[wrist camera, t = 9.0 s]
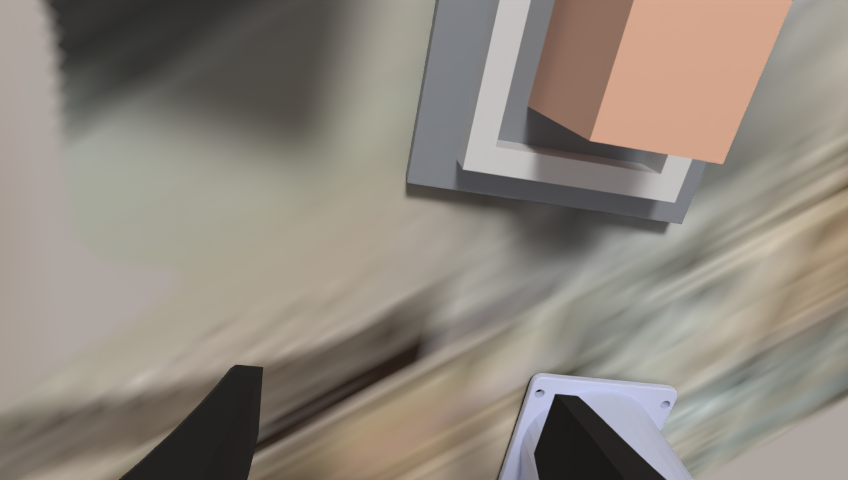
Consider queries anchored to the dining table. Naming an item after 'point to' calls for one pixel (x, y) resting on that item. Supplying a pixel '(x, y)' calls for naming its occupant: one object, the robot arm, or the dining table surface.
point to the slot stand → (524, 124)
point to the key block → (655, 70)
